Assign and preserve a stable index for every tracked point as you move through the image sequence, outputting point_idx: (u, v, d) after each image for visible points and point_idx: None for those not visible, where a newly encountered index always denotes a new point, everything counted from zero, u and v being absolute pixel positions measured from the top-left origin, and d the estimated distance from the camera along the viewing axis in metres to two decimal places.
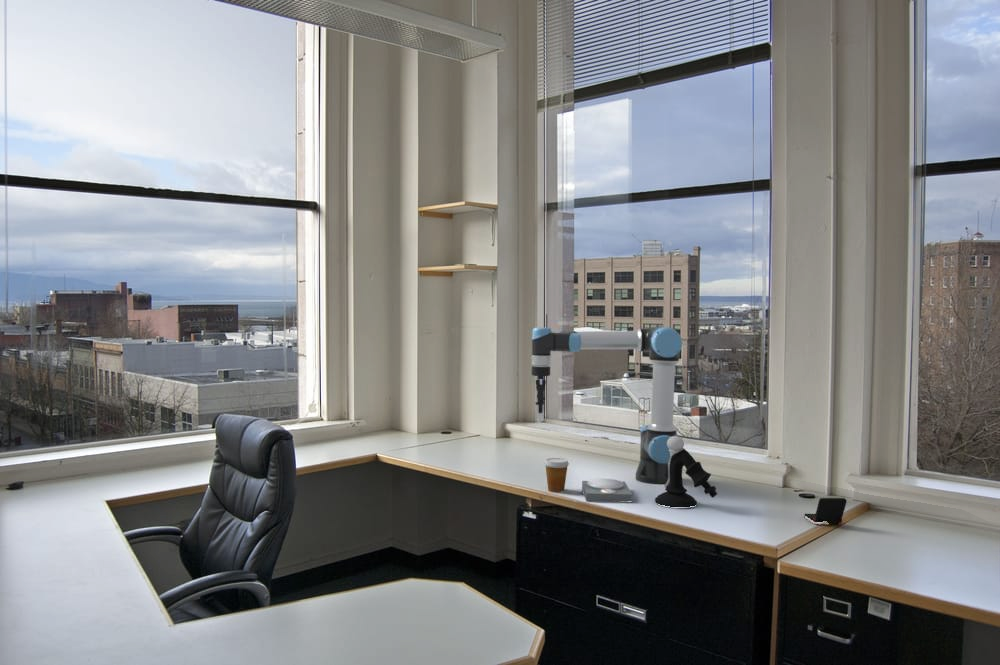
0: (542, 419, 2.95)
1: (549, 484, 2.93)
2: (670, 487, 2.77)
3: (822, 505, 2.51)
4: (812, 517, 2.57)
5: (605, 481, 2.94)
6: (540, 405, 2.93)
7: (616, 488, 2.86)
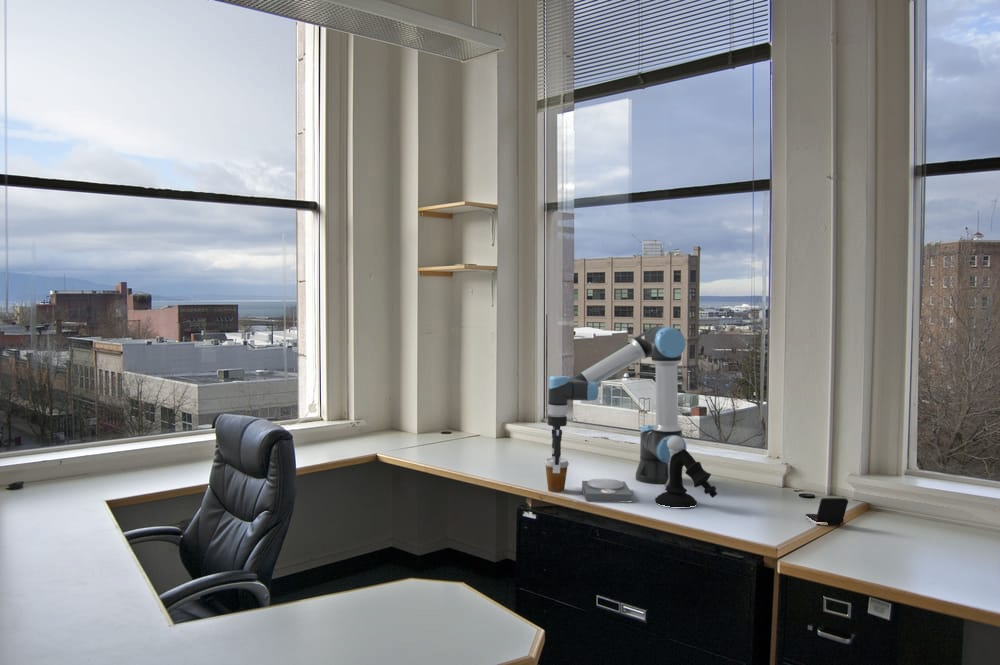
0: (558, 471, 2.87)
1: (549, 484, 2.93)
2: (670, 487, 2.77)
3: (824, 505, 2.50)
4: (813, 517, 2.57)
5: (605, 481, 2.94)
6: (557, 457, 2.86)
7: (616, 488, 2.86)
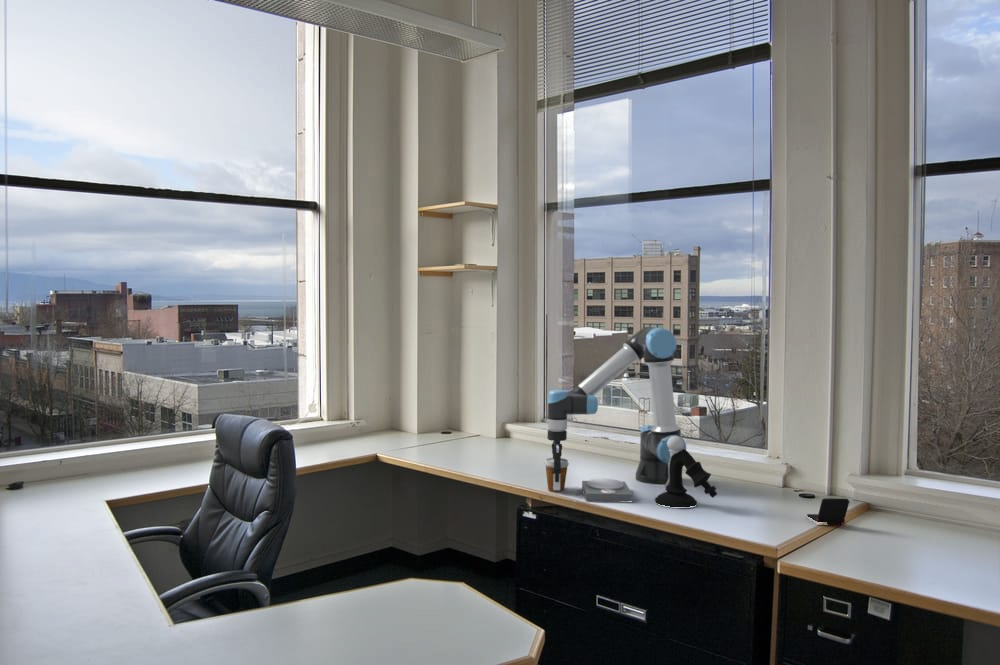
0: (559, 488, 2.90)
1: (549, 484, 2.93)
2: (670, 487, 2.77)
3: (825, 506, 2.50)
4: (815, 518, 2.57)
5: (605, 481, 2.94)
6: (557, 474, 2.89)
7: (616, 488, 2.86)
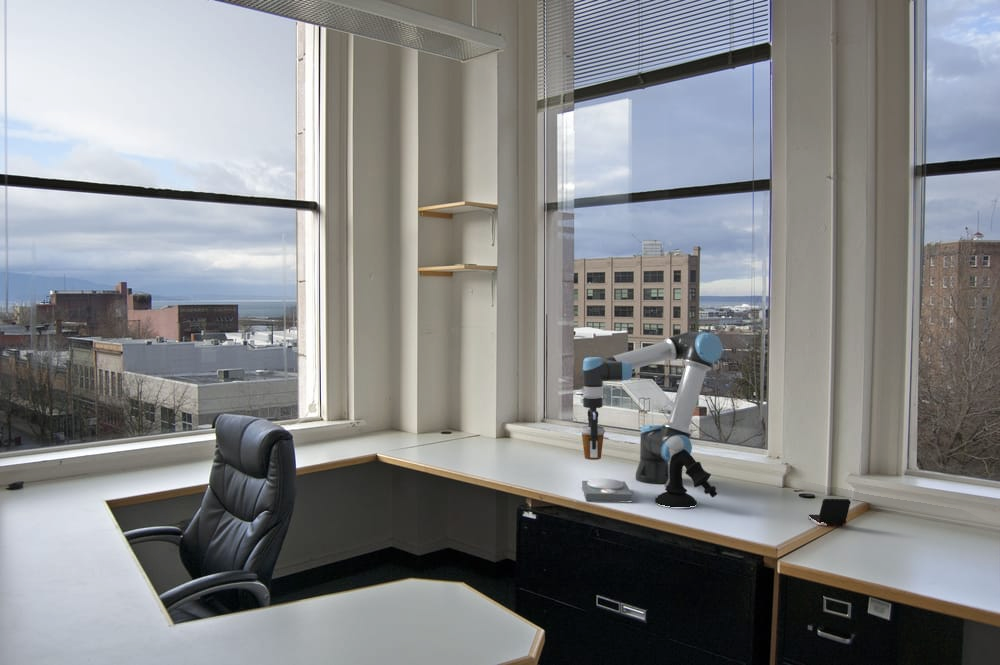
0: (596, 455, 2.88)
1: (586, 452, 2.91)
2: (670, 487, 2.77)
3: (826, 506, 2.50)
4: (816, 518, 2.56)
5: (605, 481, 2.94)
6: (594, 441, 2.86)
7: (616, 488, 2.86)
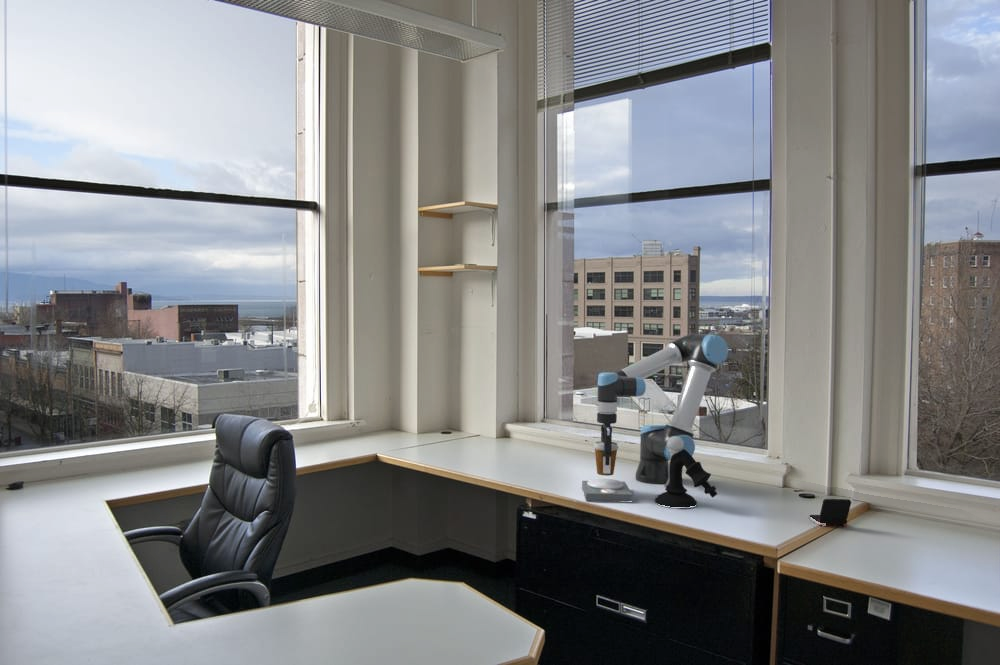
0: (609, 471, 2.87)
1: (599, 467, 2.90)
2: (670, 487, 2.77)
3: (826, 506, 2.50)
4: (817, 518, 2.56)
5: (605, 481, 2.94)
6: (607, 457, 2.85)
7: (616, 488, 2.86)
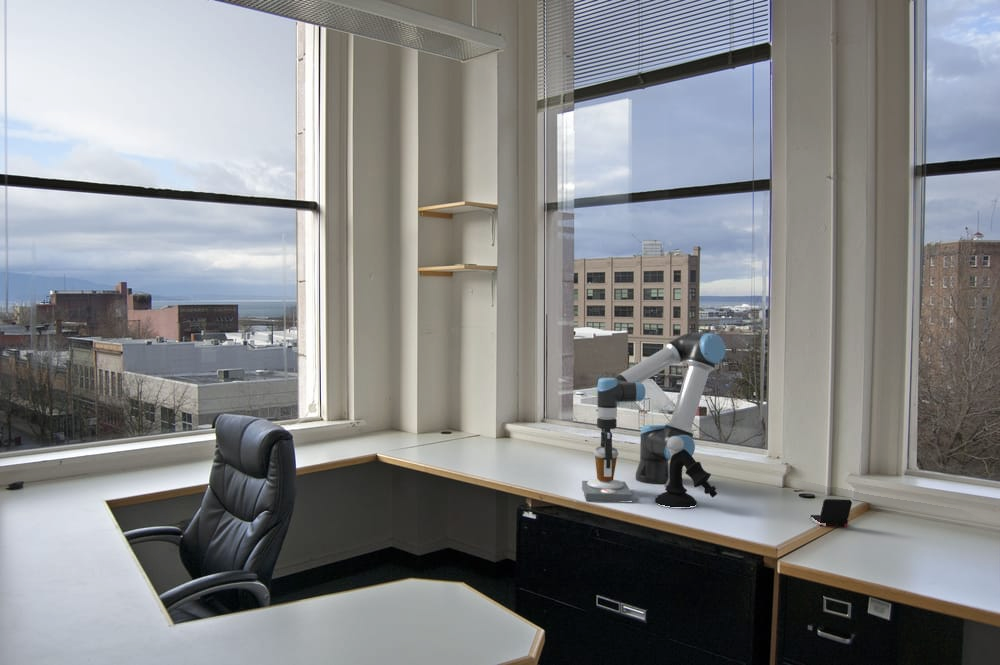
0: (610, 474, 2.85)
1: (599, 473, 2.93)
2: (670, 487, 2.77)
3: (827, 506, 2.49)
4: (818, 518, 2.56)
5: None
6: (608, 460, 2.83)
7: (616, 488, 2.86)
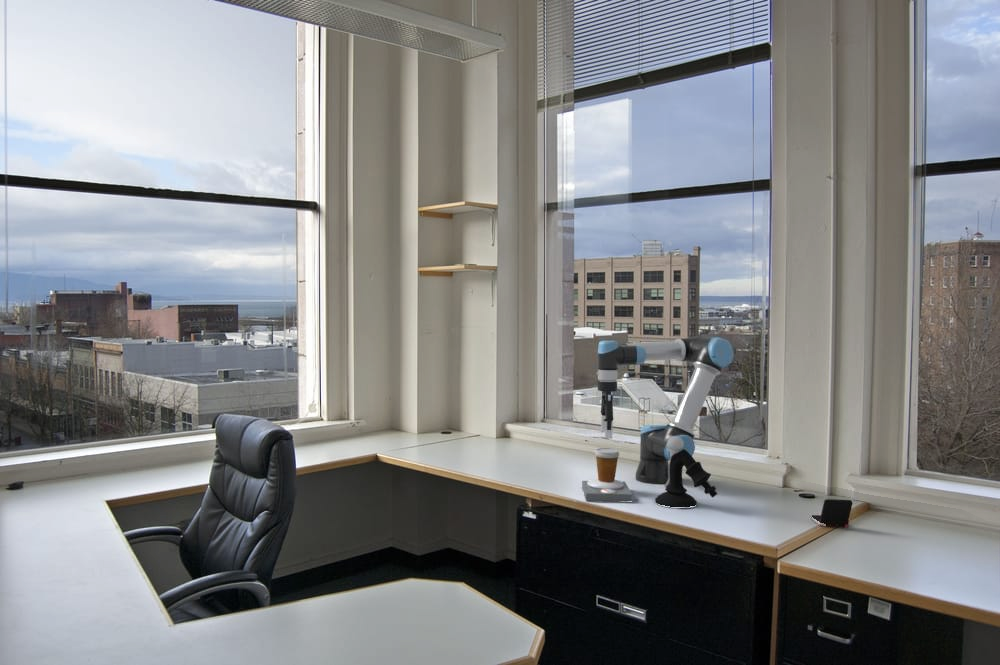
0: (611, 436, 2.84)
1: (600, 474, 2.94)
2: (670, 487, 2.77)
3: (827, 506, 2.49)
4: (818, 518, 2.56)
5: None
6: (609, 422, 2.83)
7: (616, 488, 2.86)
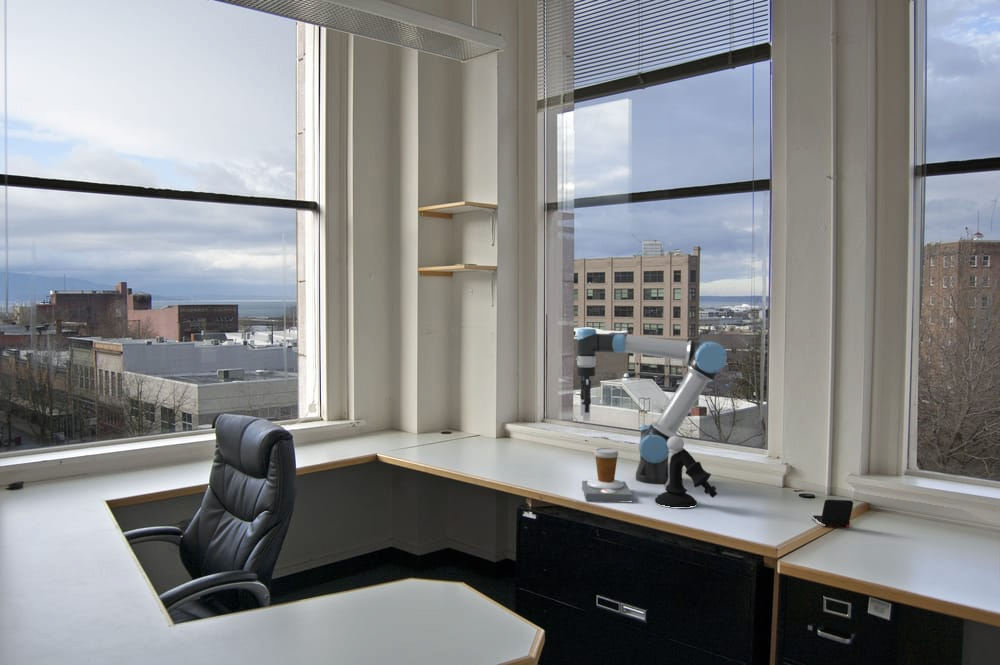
0: (588, 418, 3.00)
1: (600, 474, 2.93)
2: (670, 487, 2.77)
3: (828, 507, 2.49)
4: (819, 519, 2.55)
5: None
6: (587, 405, 2.99)
7: (616, 488, 2.86)
